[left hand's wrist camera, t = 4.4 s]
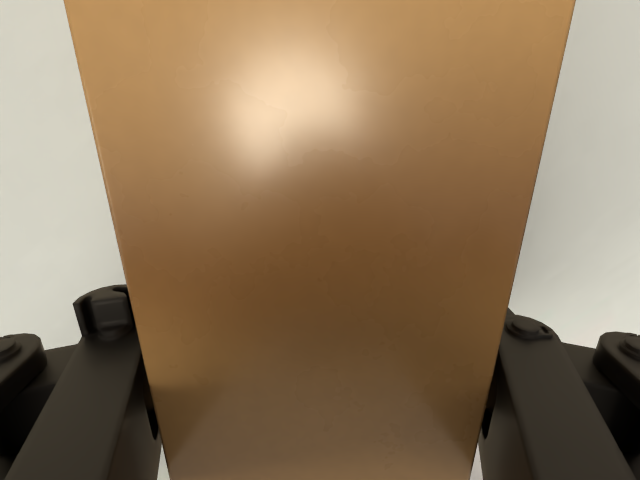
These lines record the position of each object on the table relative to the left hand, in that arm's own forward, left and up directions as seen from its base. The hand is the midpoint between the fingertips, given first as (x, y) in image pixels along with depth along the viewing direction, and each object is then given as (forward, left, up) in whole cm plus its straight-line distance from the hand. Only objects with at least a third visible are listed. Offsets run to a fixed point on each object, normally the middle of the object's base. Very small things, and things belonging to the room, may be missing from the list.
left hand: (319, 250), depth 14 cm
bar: (+9, +2, 0) cm, 9 cm away
